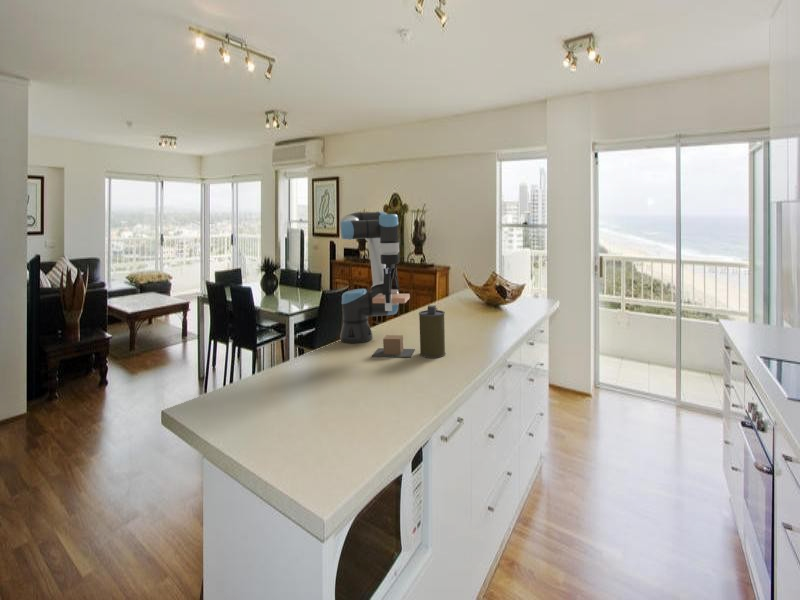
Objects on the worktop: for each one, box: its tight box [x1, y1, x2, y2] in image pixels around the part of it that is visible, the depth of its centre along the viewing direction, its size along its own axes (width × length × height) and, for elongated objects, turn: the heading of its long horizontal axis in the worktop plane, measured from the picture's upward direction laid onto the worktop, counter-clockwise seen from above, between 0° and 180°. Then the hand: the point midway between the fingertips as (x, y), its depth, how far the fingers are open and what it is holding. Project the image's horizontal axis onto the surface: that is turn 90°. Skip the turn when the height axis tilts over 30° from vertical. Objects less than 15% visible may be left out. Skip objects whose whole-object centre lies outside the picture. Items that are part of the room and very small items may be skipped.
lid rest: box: [371, 334, 416, 359], centre depth 178 cm, size 16×11×7 cm
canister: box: [418, 305, 446, 359], centre depth 174 cm, size 11×10×20 cm
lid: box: [372, 293, 411, 304], centre depth 174 cm, size 13×11×2 cm
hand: (391, 307), depth 175 cm, fingers closed on lid, 11 cm apart
